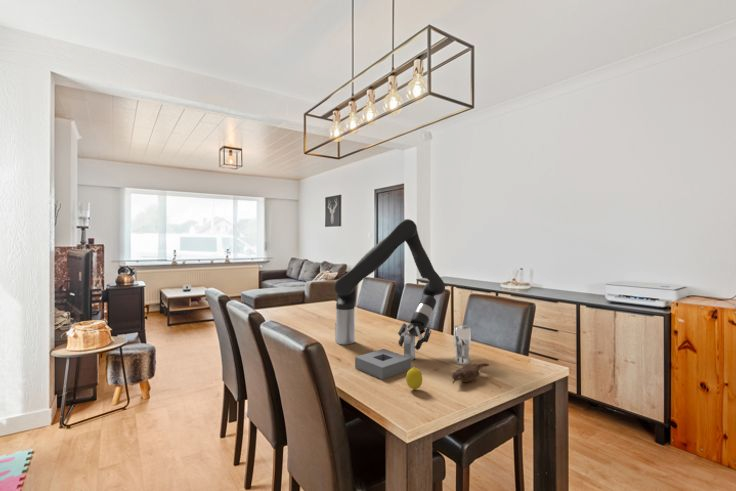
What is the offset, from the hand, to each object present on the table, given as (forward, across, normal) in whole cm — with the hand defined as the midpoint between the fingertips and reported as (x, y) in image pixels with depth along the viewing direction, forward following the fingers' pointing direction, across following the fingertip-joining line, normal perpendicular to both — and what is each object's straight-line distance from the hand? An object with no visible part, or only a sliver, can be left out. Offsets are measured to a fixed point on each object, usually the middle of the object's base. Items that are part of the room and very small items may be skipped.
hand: (408, 347), depth 155 cm
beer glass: (-4, +20, +12) cm, 23 cm away
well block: (+15, -2, -7) cm, 17 cm away
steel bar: (+3, 0, +5) cm, 5 cm away
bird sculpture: (+7, +30, +1) cm, 31 cm away
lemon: (+22, +19, -14) cm, 32 cm away
